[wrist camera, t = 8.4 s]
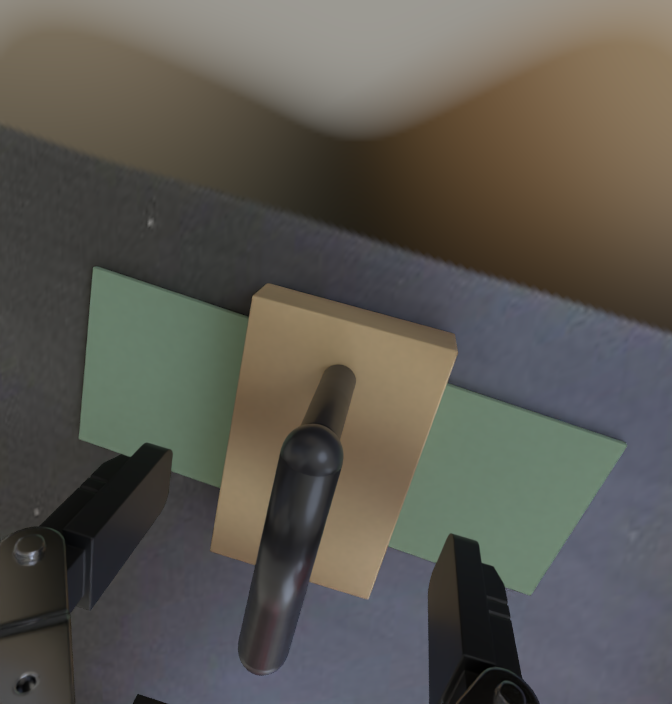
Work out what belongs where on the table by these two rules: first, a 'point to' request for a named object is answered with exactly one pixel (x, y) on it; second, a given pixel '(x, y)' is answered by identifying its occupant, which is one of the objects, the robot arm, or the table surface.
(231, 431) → the birch board
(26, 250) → the table surface
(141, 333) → the mat
